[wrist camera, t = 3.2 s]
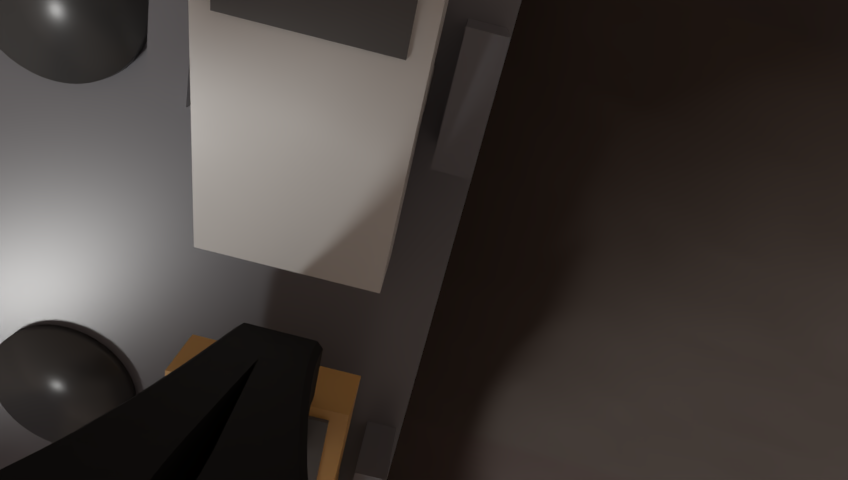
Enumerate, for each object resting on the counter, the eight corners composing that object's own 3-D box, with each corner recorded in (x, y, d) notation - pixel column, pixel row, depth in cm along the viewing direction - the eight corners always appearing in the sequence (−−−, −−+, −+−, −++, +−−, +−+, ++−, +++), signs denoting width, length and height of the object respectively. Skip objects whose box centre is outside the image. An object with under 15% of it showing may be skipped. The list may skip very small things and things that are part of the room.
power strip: (325, 676, 21) (288, 843, 17) (68, 615, 21) (-30, 768, 17) (574, -230, 10) (630, -353, 6) (50, -368, 10) (-229, -584, 6)
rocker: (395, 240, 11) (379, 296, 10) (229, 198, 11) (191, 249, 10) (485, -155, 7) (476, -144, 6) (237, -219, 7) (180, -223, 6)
